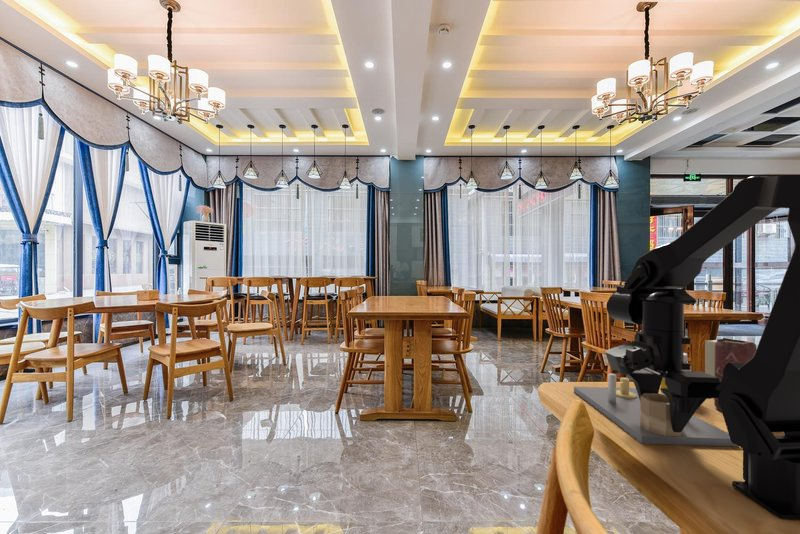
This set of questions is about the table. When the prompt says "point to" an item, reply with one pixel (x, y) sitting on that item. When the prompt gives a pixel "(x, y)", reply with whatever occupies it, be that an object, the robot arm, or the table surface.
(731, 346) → the can
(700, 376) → the robot arm
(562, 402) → the table surface
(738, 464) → the table surface
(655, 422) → the napkin ring
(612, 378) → the slate board
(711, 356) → the skincare box
